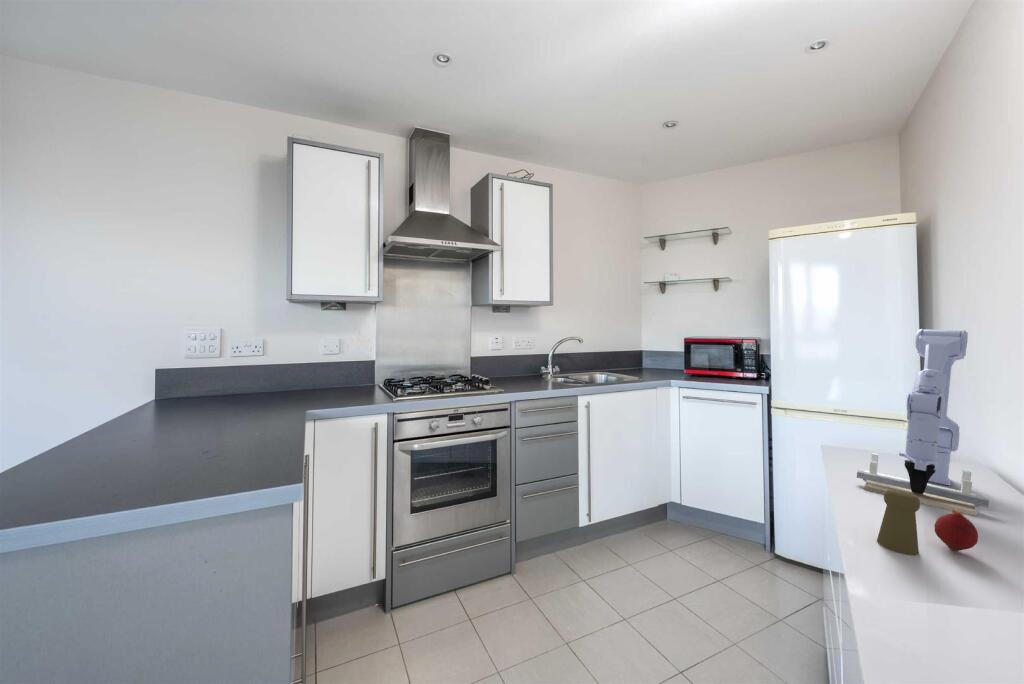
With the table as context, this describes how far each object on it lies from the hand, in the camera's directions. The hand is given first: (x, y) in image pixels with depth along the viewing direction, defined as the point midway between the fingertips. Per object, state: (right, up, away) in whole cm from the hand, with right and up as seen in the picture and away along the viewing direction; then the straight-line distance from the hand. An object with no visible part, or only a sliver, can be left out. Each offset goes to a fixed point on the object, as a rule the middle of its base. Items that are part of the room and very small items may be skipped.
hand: (917, 491), depth 107 cm
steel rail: (0, 0, 0) cm, 0 cm away
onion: (-18, -2, -26) cm, 32 cm away
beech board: (0, -2, 0) cm, 2 cm away
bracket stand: (+6, -2, +6) cm, 9 cm away
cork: (-29, -2, -26) cm, 39 cm away
